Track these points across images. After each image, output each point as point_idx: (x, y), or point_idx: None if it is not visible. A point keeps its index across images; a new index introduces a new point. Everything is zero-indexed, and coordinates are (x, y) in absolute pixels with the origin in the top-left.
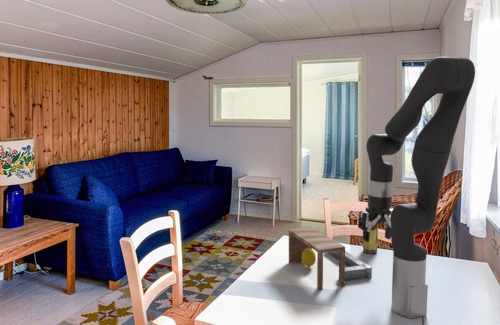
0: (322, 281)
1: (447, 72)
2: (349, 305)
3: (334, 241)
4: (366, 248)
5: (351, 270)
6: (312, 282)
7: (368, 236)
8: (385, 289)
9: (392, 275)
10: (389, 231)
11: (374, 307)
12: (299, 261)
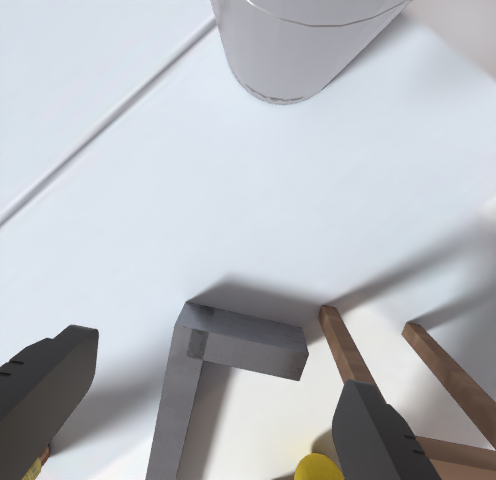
0: (423, 341)
1: None
2: (432, 190)
3: None
4: (36, 460)
5: (271, 345)
6: (391, 373)
7: (395, 433)
8: (216, 209)
9: (379, 32)
10: (24, 397)
11: (372, 129)
12: None
